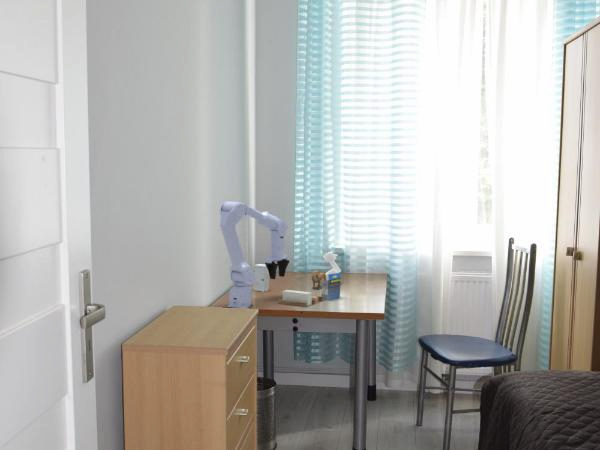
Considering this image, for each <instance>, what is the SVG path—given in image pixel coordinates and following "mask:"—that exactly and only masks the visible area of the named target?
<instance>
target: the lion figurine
mask: <svg viewBox="0 0 600 450" xmlns="http://www.w3.org/2000/svg"><path fill="white" fill-rule="evenodd" d="M311 281H312V286H313V287H312V289H315V288H316V284H317V289H319V290H320V289H321V286H322V281H323V282H325V281H327V280H326V273H324V272H321V271H319V270H314V271H312V273H311Z"/></svg>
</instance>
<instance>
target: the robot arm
mask: <svg viewBox="0 0 600 450" xmlns="http://www.w3.org/2000/svg"><path fill="white" fill-rule="evenodd" d="M270 213H271V212H270V211H267V210H266V211H262V212H261V211H259V210H257V209H256V208H254V207H251V205H249V204H247V203H243V202H241V201H229V200H226V201H224V202H222V204H221V206H220V208H219V214H220V222H219V223H220V231H221V232H222V235H223V239H224V242H225V245H226V248H227V252H228V255H229V258H230V261H231V265H230V267H229V271H230V272H229V273H230V278H229V279H230V280H231V281H232V284H233V287H230V290H229V292H228V300H229V301H228V302H229V303H228V305H227V308H231V309H232V308H233V309H240V308H245V309H248V308H251V307H254V304H252V286H253V284H254V280H255V274H254V271H253V270H252V268H251V265H250V264H248V262H247V261H246V259H245V255H244V252H243V249H242V246H241V241H240V239H239V235H238V233H237V230H236V226H237V224H238V223H239V222H240V221H241V220H242V218H243V217H244V216H248V217H250V218H252V219H255V220H257V223H258V224H259V225H260V226H263V227H264V228H267V229H268V230H269V231H270V256H269V257H267V258H266V262H265V263H264V264H265V265H266V267H267V269H268V271H269V280H276V278H277V268H278V276H279V277H281V278H283V277H285V275H286V270H287V268H288V265H289V264H290V259H289V256H288V254H285V236H286V233H287V232H286V231H287V229H288V225H287V222H286V220H284V218H283V219H282V218H281V219H280V218H278V216H277V215H272V214H270Z"/></svg>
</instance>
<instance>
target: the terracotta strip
mask: <svg viewBox="0 0 600 450" xmlns="http://www.w3.org/2000/svg"><path fill="white" fill-rule="evenodd" d="M316 296H317V295H312V299H313V300H315V302H318V297H316Z"/></svg>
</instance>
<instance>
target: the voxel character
mask: <svg viewBox="0 0 600 450" xmlns="http://www.w3.org/2000/svg"><path fill="white" fill-rule="evenodd" d="M338 256H339V254H338V253H337V254H336V253H333V251H331V252H330V251H328V252H327V253H325V254H324V255H322V258H323V260H324V261H326V262H328V264H329V265H330V266H331V267H332V268H331V269H329V270H328V271H326V273H325V274H326V280H327V281H328V280H329V279H328V274H334V273H339V272H340V273H341V272H342V269H341V268H340V267H339V265H338V263H336V260H337V257H338ZM335 277H337V276H335V275H334V276H333V278H335ZM341 281H342V280H341V279H340V283H341Z"/></svg>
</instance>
